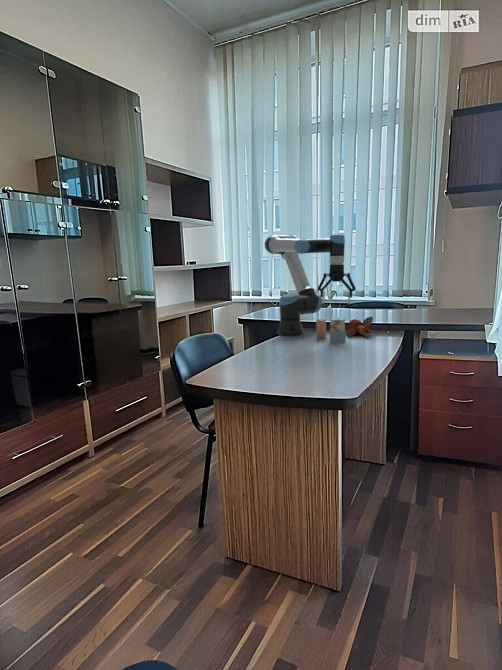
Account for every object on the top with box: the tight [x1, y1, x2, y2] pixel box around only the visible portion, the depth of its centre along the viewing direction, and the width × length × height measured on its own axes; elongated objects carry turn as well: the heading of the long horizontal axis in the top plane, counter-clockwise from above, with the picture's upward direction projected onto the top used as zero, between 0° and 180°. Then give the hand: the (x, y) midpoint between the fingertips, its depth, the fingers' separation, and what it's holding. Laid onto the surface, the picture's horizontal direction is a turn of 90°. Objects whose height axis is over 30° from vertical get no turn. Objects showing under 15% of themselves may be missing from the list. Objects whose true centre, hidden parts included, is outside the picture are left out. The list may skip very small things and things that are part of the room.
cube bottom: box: [329, 329, 347, 344], centre depth 213 cm, size 6×6×6 cm
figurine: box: [346, 316, 374, 338], centre depth 227 cm, size 20×9×15 cm
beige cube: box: [329, 317, 346, 332], centre depth 212 cm, size 6×6×6 cm
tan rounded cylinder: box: [315, 318, 327, 340], centre depth 223 cm, size 5×5×10 cm
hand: (336, 303), depth 220 cm, fingers open, 13 cm apart
